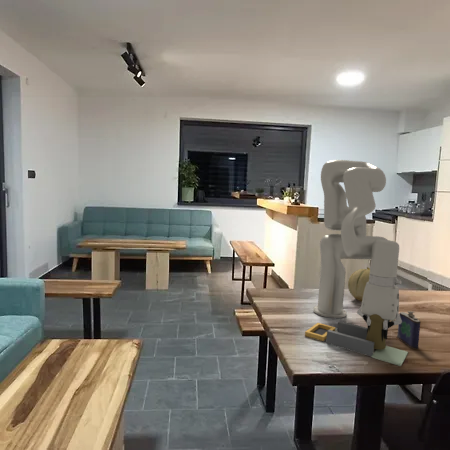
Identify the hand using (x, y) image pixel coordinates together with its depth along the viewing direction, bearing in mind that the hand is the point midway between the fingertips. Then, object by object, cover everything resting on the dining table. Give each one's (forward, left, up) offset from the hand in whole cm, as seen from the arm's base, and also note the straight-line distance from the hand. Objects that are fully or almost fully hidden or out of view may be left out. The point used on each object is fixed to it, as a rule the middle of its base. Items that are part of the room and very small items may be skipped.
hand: (376, 338), depth 113 cm
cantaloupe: (-50, -17, -4) cm, 53 cm away
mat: (+1, +4, -4) cm, 6 cm away
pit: (0, -18, -4) cm, 18 cm away
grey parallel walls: (0, -7, -4) cm, 8 cm away
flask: (-13, +7, -4) cm, 15 cm away
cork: (0, 0, -2) cm, 3 cm away
